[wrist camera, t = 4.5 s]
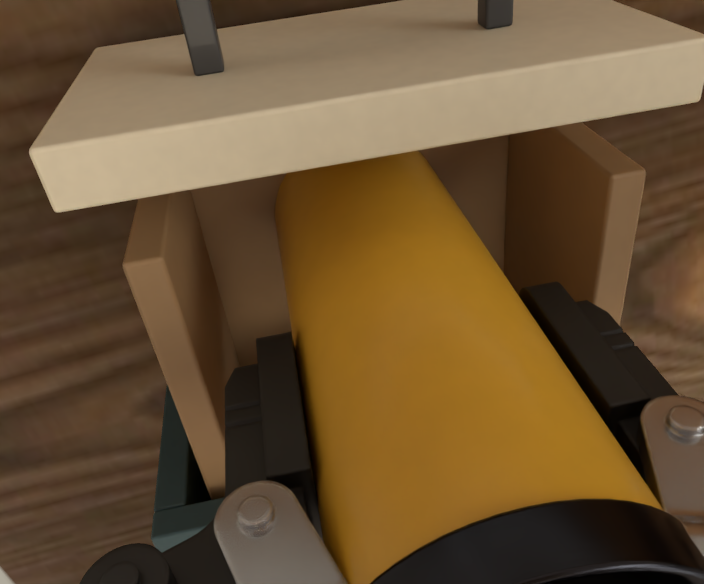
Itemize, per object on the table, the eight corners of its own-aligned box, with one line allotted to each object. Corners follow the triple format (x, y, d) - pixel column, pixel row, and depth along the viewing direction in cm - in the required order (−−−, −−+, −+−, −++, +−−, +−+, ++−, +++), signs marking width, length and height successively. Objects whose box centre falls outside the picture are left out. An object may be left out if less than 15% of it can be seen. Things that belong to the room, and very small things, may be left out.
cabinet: (172, 320, 22) (149, 539, 15) (538, 251, 23) (678, 426, 16) (251, 548, 30) (261, 762, 23) (521, 489, 31) (610, 677, 24)
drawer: (27, -154, 13) (-110, -161, 8) (565, -224, 14) (782, -273, 9) (212, 403, 23) (209, 576, 17) (527, 340, 24) (619, 486, 18)
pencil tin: (252, 141, 17) (308, 636, 6) (441, 109, 17) (801, 523, 6) (285, 297, 20) (361, 813, 9) (445, 267, 20) (697, 728, 9)
